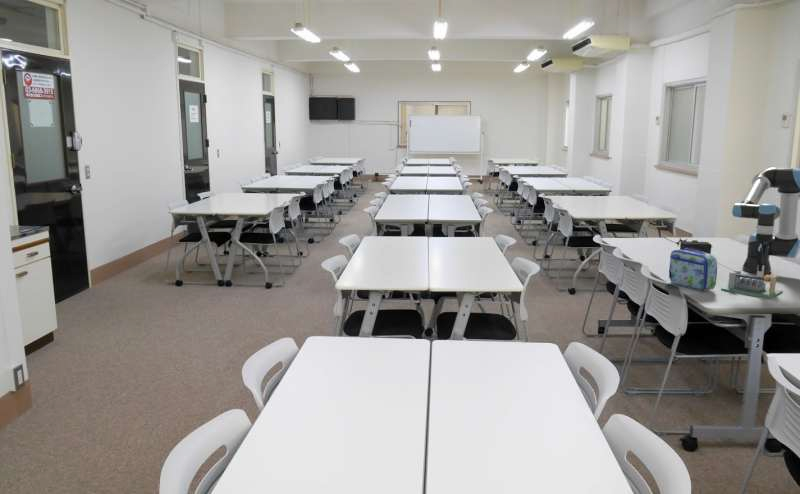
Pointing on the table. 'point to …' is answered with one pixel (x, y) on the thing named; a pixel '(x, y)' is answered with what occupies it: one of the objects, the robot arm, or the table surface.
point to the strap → (754, 277)
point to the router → (696, 246)
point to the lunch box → (693, 269)
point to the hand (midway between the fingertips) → (759, 276)
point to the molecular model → (679, 241)
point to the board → (767, 293)
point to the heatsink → (751, 285)
